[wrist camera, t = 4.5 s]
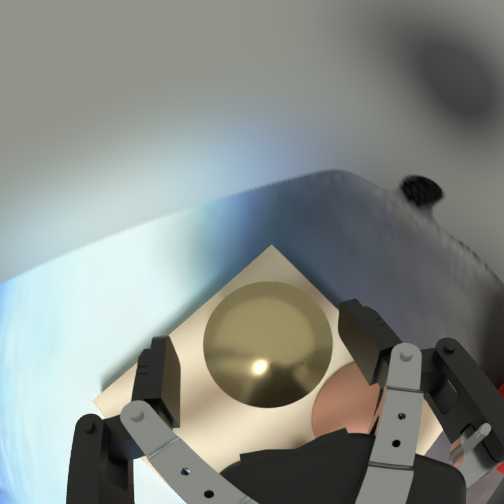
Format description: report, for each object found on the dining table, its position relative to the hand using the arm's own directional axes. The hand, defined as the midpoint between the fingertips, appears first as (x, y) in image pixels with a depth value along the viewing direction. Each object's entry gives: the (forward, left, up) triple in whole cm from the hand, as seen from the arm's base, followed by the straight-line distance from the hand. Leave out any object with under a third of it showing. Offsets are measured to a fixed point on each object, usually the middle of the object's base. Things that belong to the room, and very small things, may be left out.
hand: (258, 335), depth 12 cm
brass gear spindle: (0, 0, -6) cm, 6 cm away
